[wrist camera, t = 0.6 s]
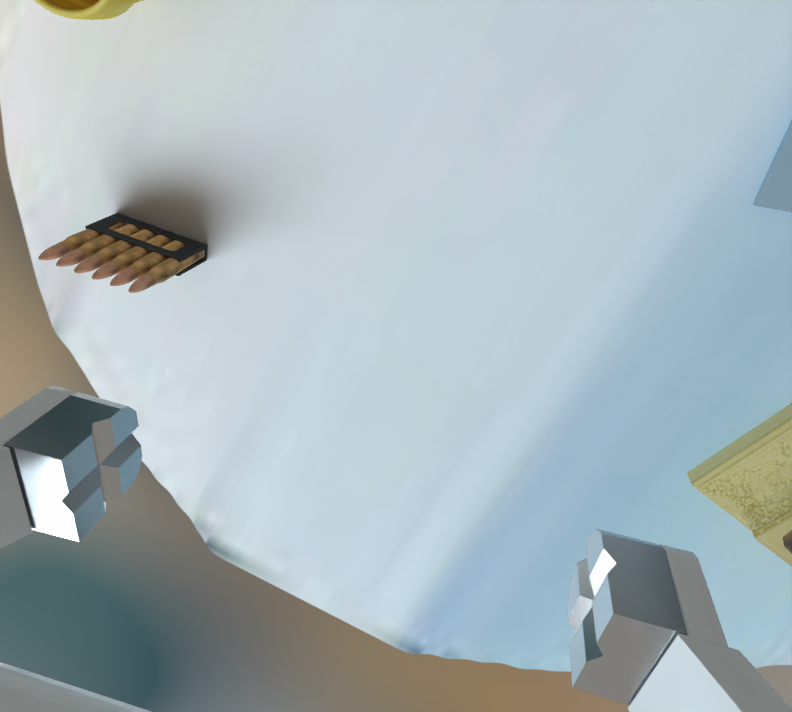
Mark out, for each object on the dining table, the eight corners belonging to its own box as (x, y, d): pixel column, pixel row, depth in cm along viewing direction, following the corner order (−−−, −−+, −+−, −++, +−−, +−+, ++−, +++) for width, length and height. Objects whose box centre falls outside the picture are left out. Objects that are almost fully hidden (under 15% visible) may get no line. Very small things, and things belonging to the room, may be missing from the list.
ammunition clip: (115, 228, 60) (30, 264, 50) (116, 212, 59) (28, 245, 49) (206, 261, 60) (138, 304, 49) (208, 245, 59) (139, 285, 48)
